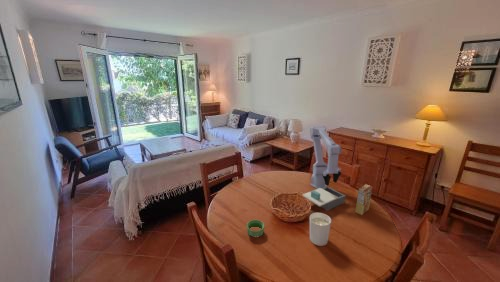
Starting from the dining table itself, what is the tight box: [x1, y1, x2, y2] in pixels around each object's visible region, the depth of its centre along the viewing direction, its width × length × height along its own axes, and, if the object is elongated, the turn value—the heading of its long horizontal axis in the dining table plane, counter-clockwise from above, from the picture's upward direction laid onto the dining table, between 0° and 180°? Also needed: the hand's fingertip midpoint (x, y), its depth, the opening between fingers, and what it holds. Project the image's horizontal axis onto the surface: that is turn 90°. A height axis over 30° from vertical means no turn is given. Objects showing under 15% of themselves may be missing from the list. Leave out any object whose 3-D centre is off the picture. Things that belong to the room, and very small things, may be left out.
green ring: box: [246, 219, 265, 238], centre depth 110 cm, size 9×9×4 cm
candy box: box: [355, 183, 373, 216], centre depth 124 cm, size 9×4×15 cm, turn 129°
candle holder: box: [309, 212, 332, 247], centre depth 103 cm, size 10×10×12 cm
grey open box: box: [320, 186, 346, 212], centre depth 136 cm, size 14×16×5 cm
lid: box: [301, 188, 338, 208], centre depth 131 cm, size 14×16×4 cm
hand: (330, 183), depth 138 cm, fingers open, 7 cm apart
